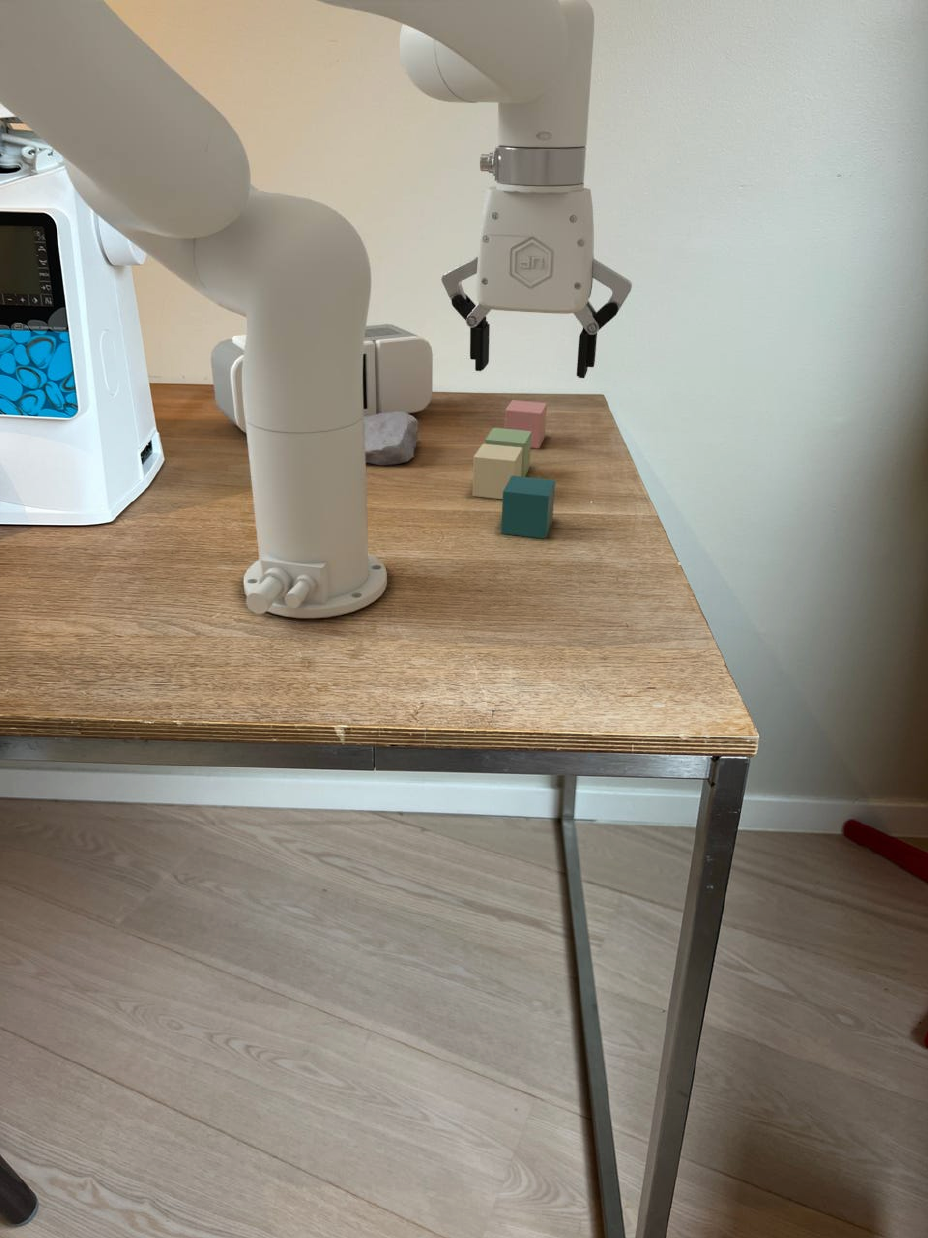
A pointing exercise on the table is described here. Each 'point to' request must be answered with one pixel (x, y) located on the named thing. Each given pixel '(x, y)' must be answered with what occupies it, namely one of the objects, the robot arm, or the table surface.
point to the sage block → (513, 443)
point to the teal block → (527, 506)
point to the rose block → (527, 419)
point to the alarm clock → (389, 373)
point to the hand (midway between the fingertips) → (531, 370)
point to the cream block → (495, 469)
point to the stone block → (390, 438)
